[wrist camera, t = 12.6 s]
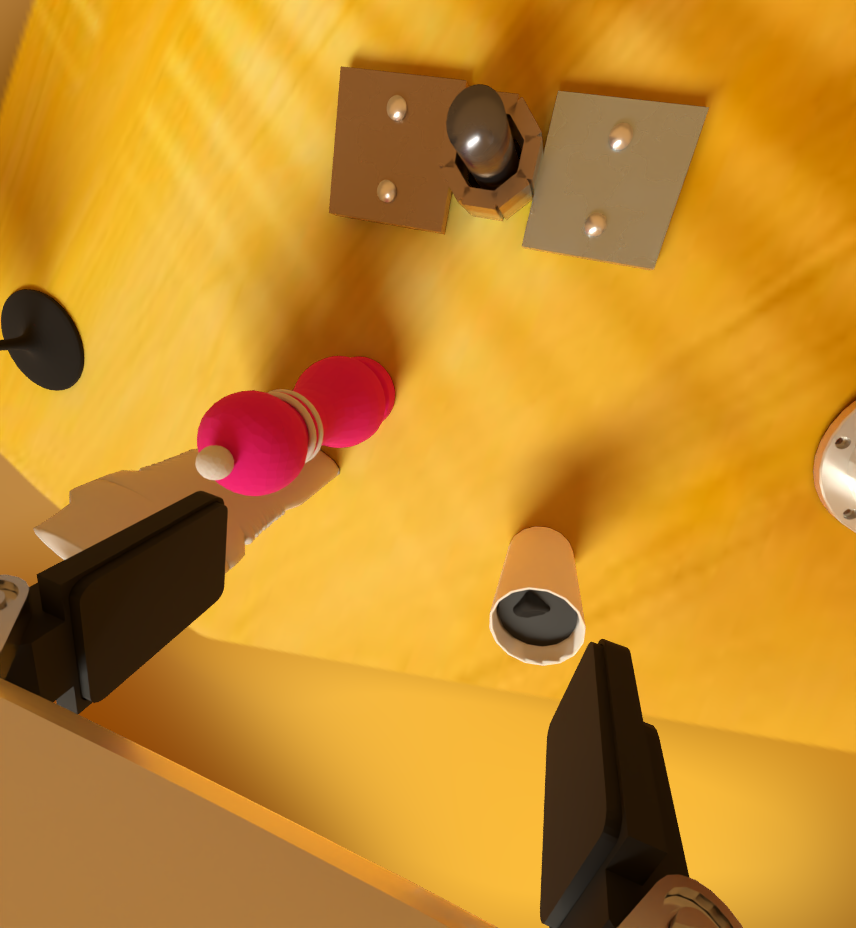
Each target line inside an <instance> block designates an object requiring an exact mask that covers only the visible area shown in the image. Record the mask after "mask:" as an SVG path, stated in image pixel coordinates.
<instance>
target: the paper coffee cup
mask: <svg viewBox="0 0 856 928" xmlns="http://www.w3.org/2000/svg"><path fill="white" fill-rule="evenodd" d="M490 630H491V632H492V634H493V637H494V639H495V641H496V643H497V644H498V645H499V646H500V647H501V648H502V649H503V650H504V651H505V652H506V653H507V654H508V655H510V656H512V657H514V658H516V659H518V660H520V661H522V662H524V663H530V664H536V665H542V666H544V665H550V664H557V663H561V662H563V661H565V660H567V659H569V658H570V657H572V656H574V655H575V654H576V653H577V651H578V650H579V648H580V647H581V646H582V644H583V643H584V635H585V622H584V616H583V610H582V603H581V597H580V591H579V585H578V579H577V573H576V566H575V560H574V554H573V551H572V548H571V545H570V543H569V541H568V540H567V539H566V538H565V537H564V536H563V535H562V534H561V533H559V532H557V531H555V530H553V529H551V528H548V527H538V526H535V527H531V528H527V529H523V530H522V531H521V532H519V533H518V534H517V535H515V536H514V537H513V539H512V541H511V543H510V545H509V548H508V551H507V555H506V558H505V562H504V565H503V569H502V573H501V576H500V580H499V583H498V587H497V590H496V594H495V597H494V601H493V604H492V608H491V611H490Z"/></svg>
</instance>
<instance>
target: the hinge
mask: <svg viewBox="0 0 856 928" xmlns="http://www.w3.org/2000/svg"><path fill="white" fill-rule="evenodd" d="M467 87H469V85H468V83H467V81H466V80H457V79H448V78H439V77H430V76H421V75H412V74H403V73H394V72H385V71H376V70H367V69H358V68H349V67H341V71H340V83H339V95H338V108H337V120H336V133H335V145H334V157H333V170H332V182H331V195H330V207H329V213H331V214H334V215H337V216H343V217H348V218H354V219H360V220H366V221H371V222H377V223H383V224H389V225H394V226H400V227H406V228H411V229H417V230H423V231H429V232H434V233H440V234H445V230H446V224H447V218H448V212H449V206H450V201H451V195H452V192H453V194H454V196H455V197H456V199H457V201H458V202H459V203H460V204H461V205H462V206H463V207H464V208H465V209H466V210H467V211H468V212H469V213H470V214H472V215H473V216H475V217H481V218H487V219H493V220H499V221H503V216H504V217H505V219H506V220H507V219H508V218H509V217H511V216H512V215H513V214H514V213H516V212H517V211H518V210H520V209H521V208H522V207H523V206H525V205H526V204H527V203H529V202H530V201H531V200H532V199H533V201H532V205H531V209H530V214H529V218H528V222H527V227H526V231H525V235H524V239H523V244H522V247H523V248H526V249H532V250H537V251H543V252H549V253H554V254H560V255H566V256H572V257H577V258H583V259H589V260H595V261H600V262H606V263H612V264H617V265H623V266H629V267H635V268H640V269H646V270H653V269H654V267H655V264H656V261H657V258H658V255H659V252H660V249H661V246H662V244H663V241H664V238H665V235H666V232H667V229H668V226H669V223H670V220H671V217H672V214H673V211H674V208H675V206H676V203H677V200H678V197H679V194H680V191H681V188H682V185H683V182H684V179H685V176H686V173H687V170H688V167H689V165H690V162H691V159H692V156H693V153H694V150H695V147H696V144H697V141H698V138H699V135H700V132H701V129H702V127H703V124H704V121H705V118H706V115H707V112H708V109H709V107H700V106H691V105H682V104H673V103H664V102H655V101H646V100H637V99H628V98H619V97H610V96H601V95H592V94H583V93H574V92H565V91H558V94H557V98H556V102H555V106H554V111H553V115H552V119H551V124H550V128H549V132H548V137H547V141H546V145H545V149H544V154H543V141H542V132H541V130H540V128H539V126H538V124H537V123H536V121H535V119H534V117H533V115H532V113H531V112H530V110H529V108H528V106H527V104H526V102H525V101H524V99H523V97H521V98H520V99H519V94H514V93H505V92H497V93H498V94H499V96H500V97H501V99H502V102H503V104H504V108H505V112H506V115H507V119H508V123H509V127H510V130H511V134H512V138H513V139H516V140H517V142H518V144H519V145H520V147H521V149H522V153H521V158H520V162H519V167H518V171H517V173H516V174H514V175H513V176H512V177H511V178H509V179H508V180H507V181H506V182H505V183H503V184H502V185H501V186H500V187H499V188H497V189H496V190H495V191H491V190H485V189H478V188H472V187H471V185H470V184H469V182H468V176H469V169H468V168H467V166H466V165H465V163H464V162H463V160H462V159H461V157H460V156H459V154H458V153H457V151H456V150H455V148H454V147H453V145H452V144H451V142H450V140H449V137H448V134H447V128H446V121H447V114H448V111H449V108H450V106H451V104H452V102H453V100H454V99H455V97H456V96H457V95H458V94H459V93H460V92H461V91H462V90H464V89H465V88H467ZM532 195H534V197H532Z"/></svg>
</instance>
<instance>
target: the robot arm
mask: <svg viewBox="0 0 856 928" xmlns="http://www.w3.org/2000/svg"><path fill="white" fill-rule="evenodd" d="M837 439H839V440H838V441H837V442H836V440H837ZM813 475H814V483H815V488H816V490H817V493H818V495H819V498H820V500H821V502H822V503H823V505H824V506H825V507H826V509H827V510H828V511H829V513H830V514H832V515H833V516H834V517H835V518H836V519H837V520H839V521H840V522H841V523H842V524H844V525H845V526H846V527H848V528H849V529H851V530H852V531H854V532H855V533H856V400H855V401H854V402H853V403H852V404H850V405H849V406H848V407H847V408H845V409H844V410H843V411H842V412H841V414H840V415H839V416H838V417H837V418H836V419H835V420H834V421H833V423H832V424H831V425H830V426H829V428H828V430H827V431H826V433H825V435H824V436H823V438H822V439H821V441H820V444H819V447H818V450H817V452H816V455H815V461H814V469H813ZM227 519H228V508H227V506H225V505H224V501H223V499H222V498H221V497H218V496H215V495H213V494H210V493H207V492H205V491H197V492H195V493H193V494H191V495H189V496H187V497H185V498H183V499H181V500H179V501H177V502H175V503H174V504H172V505H170V506H168V507H166V508H164V509H162V510H160V511H158V512H156V513H154V514H152V515H150V516H148V517H147V518H145V519H143V520H141V521H139V522H137V523H135V524H133V525H131V526H129V527H127V528H125V529H123V530H122V531H120V532H118V533H116V534H114V535H112V536H110V537H108V538H106V539H104V540H102V541H100V542H98V543H96V544H95V545H93V546H91V547H89V548H87V549H85V550H83V551H81V552H79V553H77V554H75V555H73V556H71V557H70V558H68V559H66V560H64V561H62V562H60V563H58V564H56V565H54V566H52V567H50V568H48V569H47V570H44V571H43V572H41V573H39V574H37V579H38V583H36V584H34V585H33V586H31V587H29V586H28V585H27V583H26V581H24V580H22V579H21V578H19V577H15V576H10V575H0V928H497V927H495V926H494V925H492V924H490V923H488V922H486V921H484V920H482V919H480V918H479V917H477V916H475V915H473V914H471V913H469V912H467V911H465V910H464V909H462V908H460V907H458V906H456V905H454V904H452V903H450V902H449V901H447V900H445V899H443V898H441V897H439V896H437V895H435V894H434V893H431V892H430V891H428V890H426V889H424V888H422V887H420V886H418V885H417V884H415V883H413V882H411V881H409V880H407V879H405V878H403V877H401V876H399V875H397V874H395V873H393V872H391V871H389V870H387V869H385V868H383V867H381V866H379V865H377V864H375V863H373V862H371V861H369V860H367V859H365V858H363V857H362V856H360V855H358V854H356V853H354V852H352V851H349V850H348V849H346V848H344V847H342V846H340V845H338V844H336V843H334V842H332V841H330V840H328V839H326V838H324V837H322V836H320V835H318V834H316V833H314V832H312V831H310V830H308V829H306V828H305V827H302V826H300V825H299V824H297V823H295V822H292V821H291V820H289V819H287V818H285V817H283V816H281V815H279V814H277V813H275V812H272V811H271V810H269V809H267V808H265V807H263V806H261V805H259V804H257V803H255V802H253V801H250V800H249V799H247V798H245V797H243V796H241V795H239V794H237V793H235V792H233V791H231V790H229V789H227V788H225V787H223V786H221V785H219V784H217V783H215V782H213V781H211V780H209V779H207V778H205V777H203V776H201V775H199V774H197V773H195V772H193V771H191V770H189V769H187V768H185V767H183V766H181V765H179V764H177V763H175V762H173V761H171V760H169V759H167V758H165V757H163V756H161V755H159V754H157V753H155V752H153V751H151V750H149V749H146V748H145V747H142V746H141V745H138V744H137V743H135V742H132V741H130V740H128V739H126V738H124V737H122V736H120V735H118V734H116V733H114V732H112V731H110V730H108V729H106V728H104V727H102V726H100V725H98V724H96V723H94V722H92V721H90V720H88V719H86V718H84V717H82V716H80V715H78V714H79V713H80V712H82V711H83V710H84V709H85V708H86V707H88V706H89V705H90V704H91V703H92V702H94V703H95V702H99V701H101V700H103V699H104V698H105V697H106V696H108V695H109V694H110V693H111V692H112V691H113V690H114V689H116V688H117V687H118V686H119V685H120V684H122V683H123V682H124V681H125V680H126V679H127V678H128V677H129V676H131V675H132V674H133V673H134V672H135V671H137V670H138V669H139V668H140V667H141V666H142V665H144V664H145V663H146V662H147V661H148V660H149V659H150V658H152V657H153V656H154V655H155V654H156V653H157V652H159V650H161V649H162V648H163V647H164V646H165V645H167V644H168V643H169V642H170V641H171V640H172V639H173V638H175V637H176V636H177V635H178V634H179V633H180V632H182V631H183V630H184V629H185V628H186V627H187V626H189V625H190V624H191V623H192V622H193V621H194V620H196V619H197V618H198V617H199V616H200V615H201V614H202V613H204V612H205V611H206V610H207V609H208V608H209V607H211V606H212V605H213V604H214V603H215V602H216V601H217V600H218V599H219V598H220V596H221V595H222V593H223V590H224V580H225V560H226V539H227ZM55 700H57V704H55V703H53V702H54V701H55ZM546 752H547V753H546V776H545V777H546V778H545V801H544V802H545V803H544V827H543V851H542V876H541V901H540V917H541V922H542V923H543V924H545V925H547V926H549V928H743V927H742V925H741V924H740V923H739V921H738V920H737V919H736V917H735V916H734V915H733V913H732V912H731V911H730V909H729V908H728V907H727V906H726V905H725V904H724V903H723V902H722V901H721V900H720V899H719V898H718V897H717V896H716V895H715V894H714V893H713V892H712V891H711V890H709V889H708V888H706V887H705V886H703V885H702V884H700V883H699V882H698V881H696V880H693V879H691V878H689V874H688V870H687V865H686V860H685V855H684V851H683V846H682V841H681V837H680V832H679V827H678V823H677V818H676V814H675V809H674V804H673V800H672V795H671V791H670V786H669V781H668V777H667V772H666V767H665V763H664V758H663V753H662V749H661V744H660V740H659V736H658V733H657V730H656V729H655V727H654V726H653V725H650V724H648V723H645V722H643V718H642V712H641V707H640V702H639V696H638V691H637V685H636V680H635V675H634V669H633V664H632V659H631V653H630V650H629V649H628V648H626V647H623V646H621V645H618V644H615V643H613V642H610V641H607V640H605V639H601V640H600V641H599V642H598V644H596V643H593V642H590V643H589V645H588V646H587V648H586V650H585V652H584V655H583V657H582V659H581V661H580V663H579V665H578V667H577V669H576V671H575V673H574V675H573V677H572V679H571V681H570V683H569V685H568V688H567V690H566V692H565V694H564V696H563V698H562V700H561V702H560V704H559V706H558V708H557V711H556V713H555V715H554V716H553V719H552V721H551V723H550V726H549V730H548V736H547V751H546Z"/></svg>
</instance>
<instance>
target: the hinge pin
mask: <svg viewBox="0 0 856 928" xmlns="http://www.w3.org/2000/svg"><path fill="white" fill-rule="evenodd" d="M446 128H447V134H448V137H449V140H450V142H451V144H452V145H453V147H454V148H455V150H456V151H457V153H458V154H459V156H460V157H461V159H462V160H463V162H464V163H465V165H466V166H467V168H468V169H469V171H470V172H471V174H472V175H473V177H474V178H475V180H476V181H477V183H478V184H479V186H480V187H481V189H485V190H491V191H495V190H496V189H497V188H499V187H500V186H501V185H502V184H503V183H505V182H506V181H507V180H508V179H509V178H511V177H512V176H513V175H514V174H516V173H517V171H518V167H519V161H518V157H517V153H516V149H515V146H514V142H513V138H512V134H511V130H510V127H509V123H508V119H507V115H506V112H505V108H504V104H503V102H502V99H501V97H500V96H499V94H498V93H497V92H496V91H495V90H494V89H492V88H491V87H489V86H486V85H479V84H478V85H472V86H469V87H467V88H465V89H464V90H462V91H461V92H460V93H459V94H458V95H457V96H456V97H455V99H454V100H453V102H452V104H451V106H450V108H449V111H448V114H447V121H446Z"/></svg>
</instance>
